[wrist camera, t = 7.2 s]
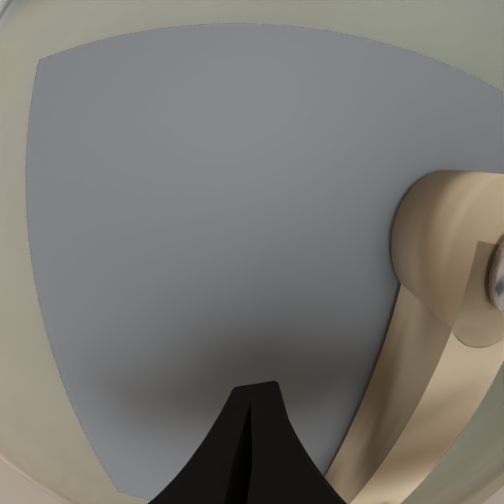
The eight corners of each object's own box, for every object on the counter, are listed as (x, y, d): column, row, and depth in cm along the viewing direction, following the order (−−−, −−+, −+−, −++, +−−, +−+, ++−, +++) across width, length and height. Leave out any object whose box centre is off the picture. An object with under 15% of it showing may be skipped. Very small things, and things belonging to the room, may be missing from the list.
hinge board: (488, 95, 7) (503, 92, 6) (368, 494, 14) (371, 504, 13) (53, 65, 8) (38, 60, 7) (121, 481, 14) (117, 491, 13)
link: (401, 155, 7) (465, 152, 4) (498, 185, 7) (559, 196, 4) (306, 487, 11) (310, 532, 8) (380, 479, 11) (392, 518, 8)
